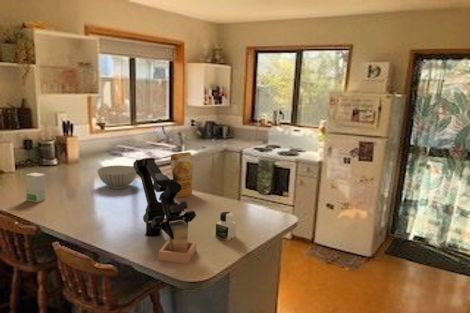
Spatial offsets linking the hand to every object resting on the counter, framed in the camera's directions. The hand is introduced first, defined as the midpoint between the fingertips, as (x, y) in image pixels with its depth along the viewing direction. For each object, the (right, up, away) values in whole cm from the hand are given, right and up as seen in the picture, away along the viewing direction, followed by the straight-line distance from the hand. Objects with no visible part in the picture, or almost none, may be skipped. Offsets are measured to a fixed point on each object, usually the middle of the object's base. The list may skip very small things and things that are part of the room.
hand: (180, 237), depth 149 cm
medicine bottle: (+18, -5, +25) cm, 31 cm away
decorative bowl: (-58, +13, +99) cm, 115 cm away
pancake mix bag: (-12, +8, +87) cm, 89 cm away
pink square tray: (-1, -8, +3) cm, 9 cm away
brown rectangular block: (-1, -6, +2) cm, 7 cm away
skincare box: (-93, +8, +62) cm, 112 cm away
